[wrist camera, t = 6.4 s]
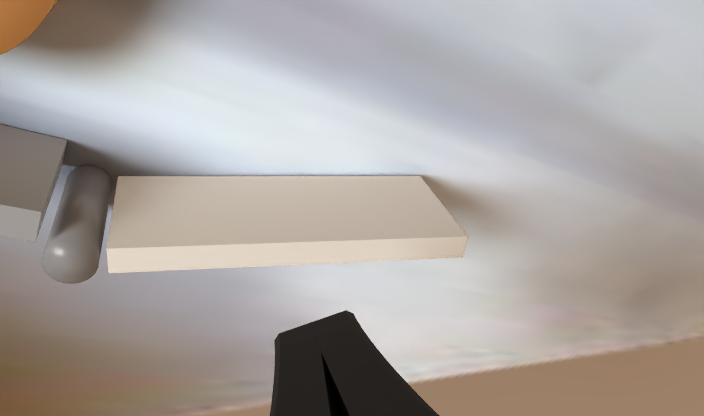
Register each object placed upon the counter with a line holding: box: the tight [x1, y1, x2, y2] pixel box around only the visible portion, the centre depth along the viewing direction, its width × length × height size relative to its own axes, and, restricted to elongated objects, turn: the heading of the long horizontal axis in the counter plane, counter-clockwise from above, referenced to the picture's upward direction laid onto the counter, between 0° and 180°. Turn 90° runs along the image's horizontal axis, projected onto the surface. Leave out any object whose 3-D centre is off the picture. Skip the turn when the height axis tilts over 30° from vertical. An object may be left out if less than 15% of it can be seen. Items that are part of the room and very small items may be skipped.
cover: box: [42, 165, 468, 283], centre depth 17 cm, size 1×11×4 cm, turn 83°
